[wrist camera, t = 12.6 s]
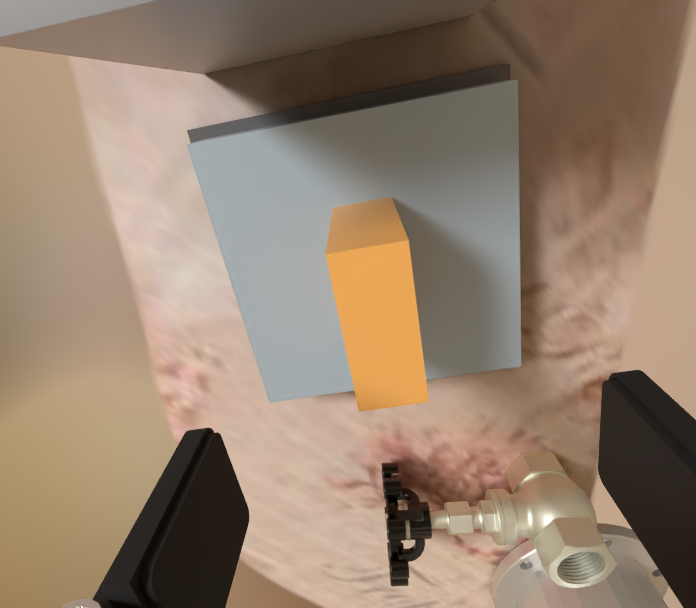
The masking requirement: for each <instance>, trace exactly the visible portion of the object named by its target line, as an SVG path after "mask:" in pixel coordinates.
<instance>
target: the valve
mask: <svg viewBox="0 0 696 608" xmlns="http://www.w3.org/2000/svg"><path fill="white" fill-rule="evenodd" d="M393 473H399V471H398V463H397V462H395V463H382V479H383V492H384V499H385V500H386V507H385V520H386V529H387V537H388V541H389V542H388V543H387V545H388V558H389V568H390V581H391V586H408V578H409V566H408V562H409V561H413V560H415V559H417V558H418V557H419V556H420V555H421V554H422V552H423V550H424V546H425V539H431V538H432V529H443V528H447V531H448V534H449V535H468V534H472V533H473V528H480V529H481V531H482V532H483V534H488V533H491V535H492V538H493V540H494V542H495V543H496V544H497V545H511V544H515V543H516V542H517V538H519V537H527V538H529V539H530V540H531V541H532V542H533V544H534V546H535V549H536V551H537V553H538V556H539V558H540V561H541V563H542V566H543V568H544V569H545V571H546V572H547V574H548V575H549V577H550V578H551V579H552V580H553V582H554V583H555V584H556V585H557V586H561V587H567V588H581V587H587V586H591V585H594V584H596V583H598V582H600V581H602V580H604V579H605V578H606V577H607V576H608V575H609V574H610V573H611V572H612V571H613V570H614V568H615V567H616V565H617V562H616V560H615V558H614V557H613V555H612V553H611V551H610V550H609V548H608V546H607V544H606V543H605V541H604V539H603V537H602V536H601V534H600V533H599V531H598V530H597V521H596V516H595V511H594V508H593V506H592V504H591V502H590V500H589V498H588V497H587V495H586V494H585V493H584V491H583V490H582V489H581V488H580V487H579V486H578V485H577V484H575V483H574V482H573V481H571V480H570V479H569V477H568V476H567V474H566V472H565V470H564V469H563V467H562V466H561V464H560V463H559V461H558V460H557V458H556V456H555V455H554V453H553V452H552V451H541V452H524V453H521V454H520V455H519V456H518V457H517V458H516V460H515V461H514V462H513V463H512V464H511V465H510V467H509V468H508V469H507V470H506V472H505V475H506V477H507V480H508V482H509V485H510V487H511V490H512V492H513V493H514V494H509V493H508V492H507V490H506V489H504V488H501V489H488V490H487V491H486V494H485V500H480V501H478V503H477V506H475V507H469V503H468V501H461V502H446V503H445V505H444V510H431V511H430V510H429V506H428V503H427V502H420V500H419V498H418V496H417V495H416V494H415V493H414V492H413V491H411V490H409V489H405V488H401V480H400V478H398V476H397V475H391V474H393ZM397 500H407V501H409V502H410V503H403V506H398V502H397ZM401 540H415V544H414V546H413V547H412V548H410V549H404V547H403V543H401Z"/></svg>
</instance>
